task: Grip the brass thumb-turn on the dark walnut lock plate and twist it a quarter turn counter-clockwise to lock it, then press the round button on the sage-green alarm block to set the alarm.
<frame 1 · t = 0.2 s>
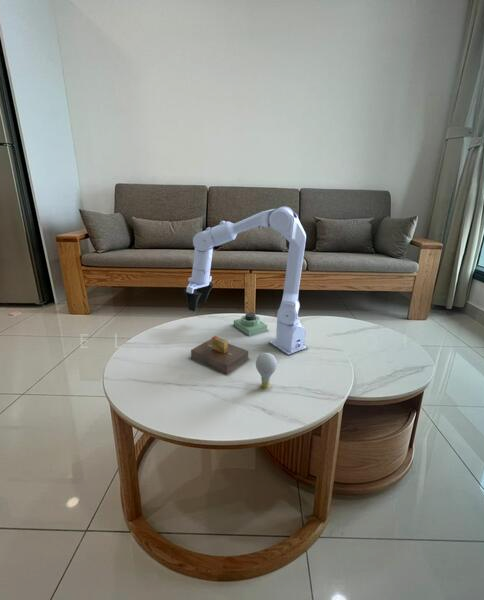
hand: (197, 306, 109), 10 cm above the table, tool pointing down, fingers open, 7 cm apart
thumb turn: (219, 344, 95), point 5 cm above the table, hinge at 0.0°
alarm block: (250, 328, 118), on the table
lock plate: (219, 359, 97), on the table
alarm button: (250, 316, 116), point 4 cm above the table, slide at 0.1 cm
light bulb: (265, 388, 84), on the table
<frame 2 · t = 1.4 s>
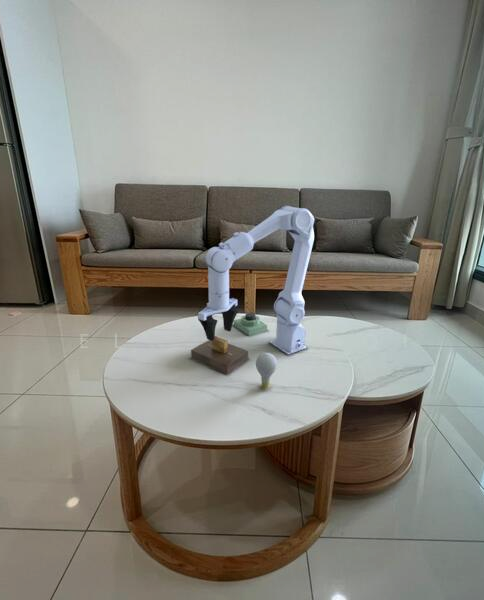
hand: (219, 334, 94), 8 cm above the table, tool pointing down, fingers open, 7 cm apart
nothing on the table moved.
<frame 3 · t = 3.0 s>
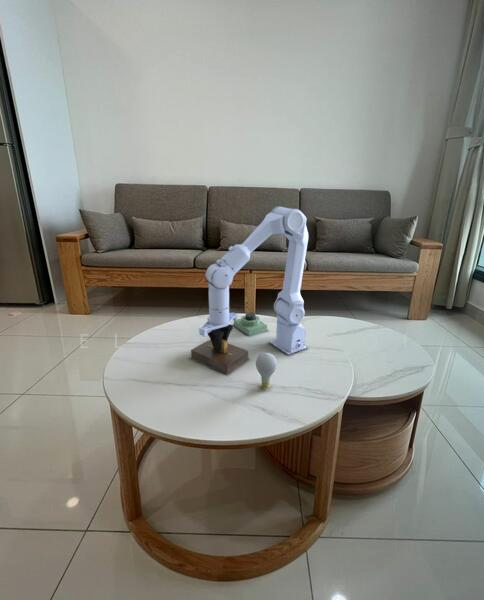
hand: (219, 348, 96), 4 cm above the table, tool pointing down, fingers closed on thumb turn, 2 cm apart
thumb turn: (219, 344, 95), point 5 cm above the table, hinge at 0.0°, touching gripper
everything else where it was.
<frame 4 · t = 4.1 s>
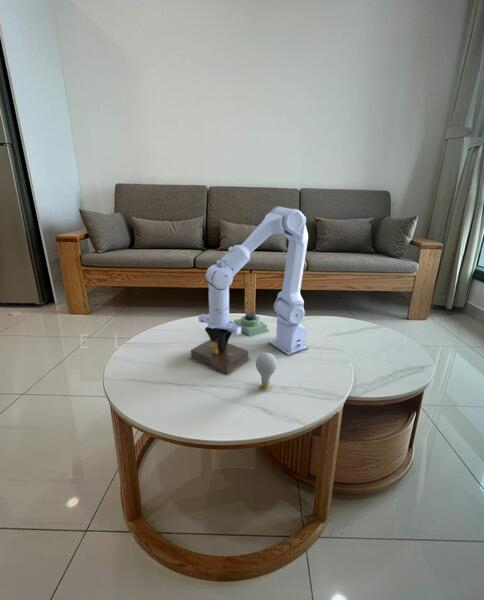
hand: (219, 349, 96), 3 cm above the table, tool pointing down, fingers closed
thumb turn: (219, 344, 95), point 5 cm above the table, hinge at 90.0°
everything else where it was.
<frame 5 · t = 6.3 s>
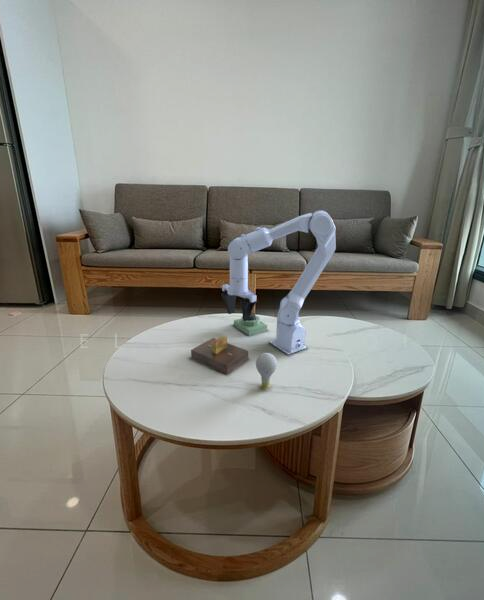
hand: (238, 316, 106), 9 cm above the table, tool pointing down, fingers open, 7 cm apart
nothing on the table moved.
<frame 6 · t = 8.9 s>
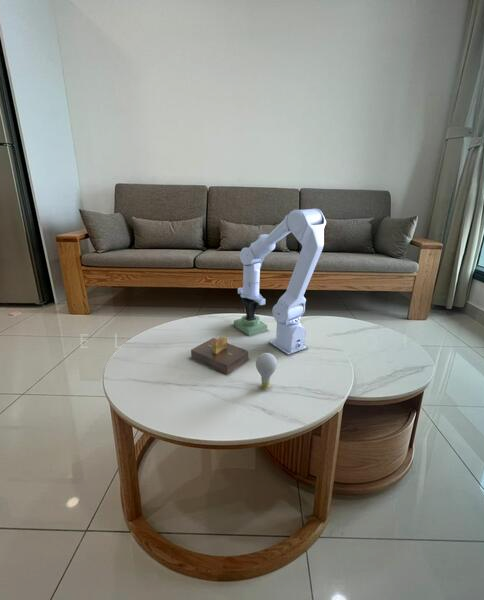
hand: (250, 317, 116), 4 cm above the table, tool pointing down, fingers closed, pressing on alarm button
alarm button: (250, 319, 117), point 3 cm above the table, slide at -0.9 cm, touching gripper
everything else where it was.
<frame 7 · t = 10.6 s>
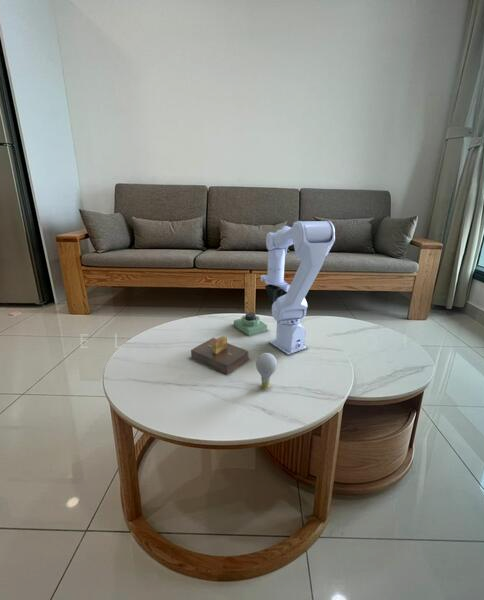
hand: (274, 304, 115), 9 cm above the table, tool pointing down, fingers closed
alarm button: (250, 316, 116), point 4 cm above the table, slide at 0.1 cm
everything else where it was.
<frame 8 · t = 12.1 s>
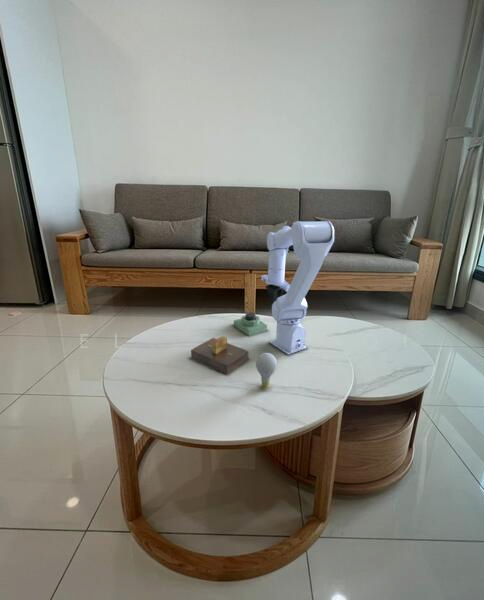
hand: (274, 304, 115), 9 cm above the table, tool pointing down, fingers closed
nothing on the table moved.
at the end: thumb turn at +90° (first picture: +0°); alarm button pushed in 1.2 cm at the most during the clip, back to where it started at the end; alarm button slide at 0.1 cm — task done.
